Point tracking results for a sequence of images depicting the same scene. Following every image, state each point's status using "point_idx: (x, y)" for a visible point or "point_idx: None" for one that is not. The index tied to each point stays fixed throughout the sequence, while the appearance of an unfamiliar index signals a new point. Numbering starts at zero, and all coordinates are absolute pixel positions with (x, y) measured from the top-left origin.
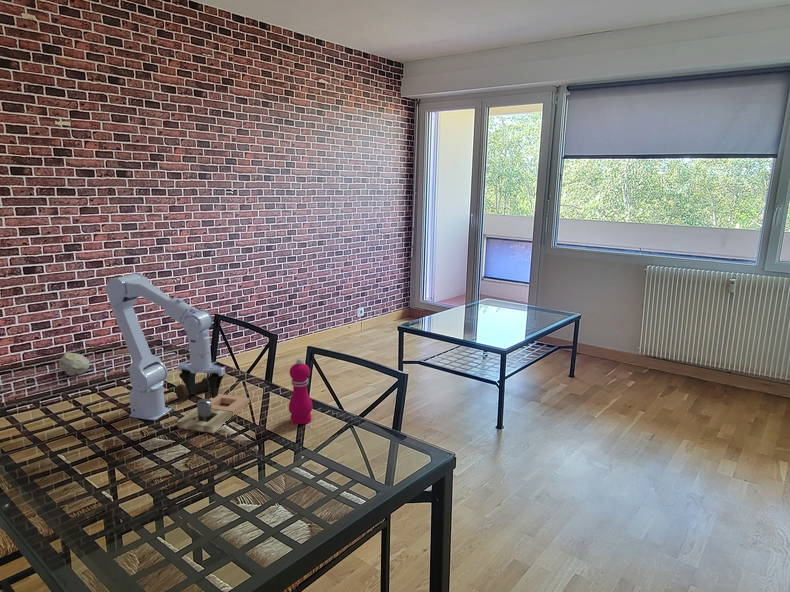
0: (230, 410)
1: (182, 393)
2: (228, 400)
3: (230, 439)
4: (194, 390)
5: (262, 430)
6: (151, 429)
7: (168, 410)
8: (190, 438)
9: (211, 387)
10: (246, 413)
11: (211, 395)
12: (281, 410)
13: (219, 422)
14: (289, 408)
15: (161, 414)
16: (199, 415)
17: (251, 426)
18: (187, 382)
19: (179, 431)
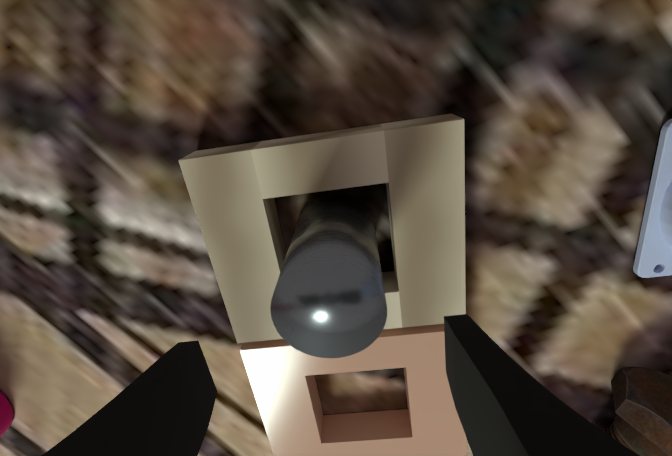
0: (258, 352)
1: (661, 404)
2: (372, 429)
3: (53, 134)
4: (452, 384)
5: (12, 277)
6: (617, 10)
7: (644, 250)
8: (267, 32)
9: (85, 447)
10: (223, 373)
11: (180, 357)
12: None
13: (203, 228)
14: None
15: (662, 193)
16: (337, 218)
17: (92, 288)
18: (529, 448)
19: (404, 78)
